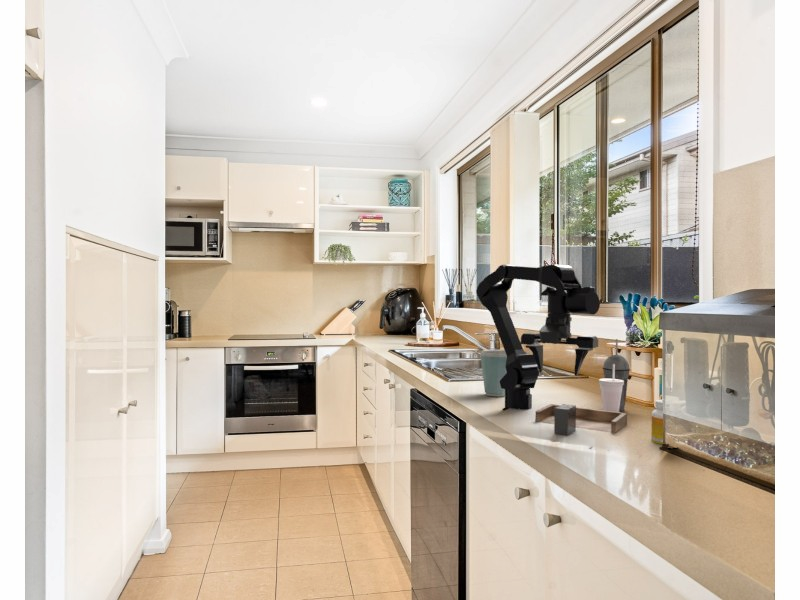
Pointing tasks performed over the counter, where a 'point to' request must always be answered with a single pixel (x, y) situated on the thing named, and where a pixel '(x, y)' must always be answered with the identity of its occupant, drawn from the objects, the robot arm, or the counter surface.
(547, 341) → the robot arm
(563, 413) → the cover plate
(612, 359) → the beverage cup
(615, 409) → the smoothie
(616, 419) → the walnut box
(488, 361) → the disposable coffee cup
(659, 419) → the supplement bottle
